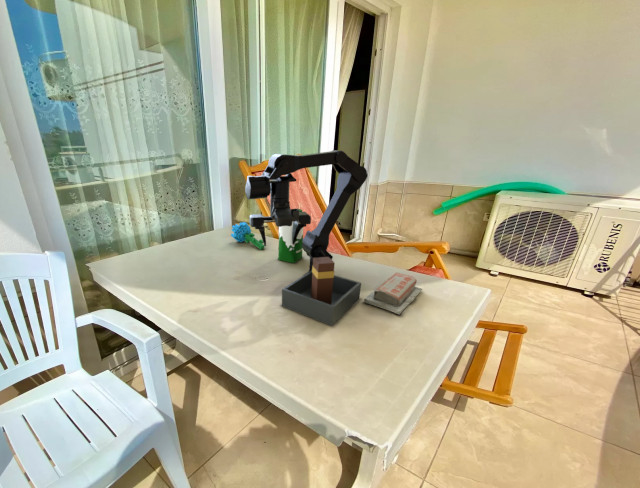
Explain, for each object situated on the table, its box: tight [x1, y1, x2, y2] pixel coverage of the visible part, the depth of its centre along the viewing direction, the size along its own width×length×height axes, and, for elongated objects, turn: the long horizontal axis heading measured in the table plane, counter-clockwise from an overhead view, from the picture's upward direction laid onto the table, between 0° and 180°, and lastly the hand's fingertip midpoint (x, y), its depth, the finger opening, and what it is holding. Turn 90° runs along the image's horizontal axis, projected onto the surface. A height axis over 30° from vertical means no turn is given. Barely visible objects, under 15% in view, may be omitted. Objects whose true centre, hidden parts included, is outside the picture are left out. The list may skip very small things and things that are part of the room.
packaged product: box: [363, 272, 423, 316], centre depth 89 cm, size 18×5×10 cm
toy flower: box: [230, 221, 266, 250], centre depth 137 cm, size 9×9×18 cm
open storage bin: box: [281, 270, 362, 327], centre depth 88 cm, size 18×16×6 cm
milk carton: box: [277, 208, 304, 264], centre depth 118 cm, size 9×9×20 cm
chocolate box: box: [311, 257, 335, 305], centre depth 86 cm, size 5×5×13 cm
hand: (279, 244), depth 98 cm, fingers open, 9 cm apart
